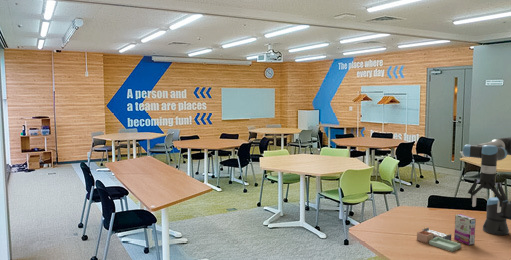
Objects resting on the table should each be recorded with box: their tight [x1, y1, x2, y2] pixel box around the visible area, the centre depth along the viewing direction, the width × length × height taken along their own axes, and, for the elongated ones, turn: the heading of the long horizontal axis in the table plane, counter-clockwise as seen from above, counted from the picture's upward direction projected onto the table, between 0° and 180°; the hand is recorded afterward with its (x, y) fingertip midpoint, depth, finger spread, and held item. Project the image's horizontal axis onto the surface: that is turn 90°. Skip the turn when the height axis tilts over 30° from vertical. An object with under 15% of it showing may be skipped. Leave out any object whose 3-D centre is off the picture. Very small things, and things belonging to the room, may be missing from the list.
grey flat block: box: [427, 229, 448, 238], centre depth 253 cm, size 6×12×1 cm, turn 37°
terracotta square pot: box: [416, 229, 433, 244], centre depth 248 cm, size 7×7×5 cm
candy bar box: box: [453, 213, 477, 246], centre depth 246 cm, size 11×5×16 cm, turn 23°
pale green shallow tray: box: [428, 237, 462, 253], centre depth 240 cm, size 10×14×2 cm
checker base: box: [422, 227, 452, 241], centre depth 253 cm, size 6×16×5 cm, turn 37°
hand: (486, 209), depth 223 cm, fingers open, 13 cm apart
